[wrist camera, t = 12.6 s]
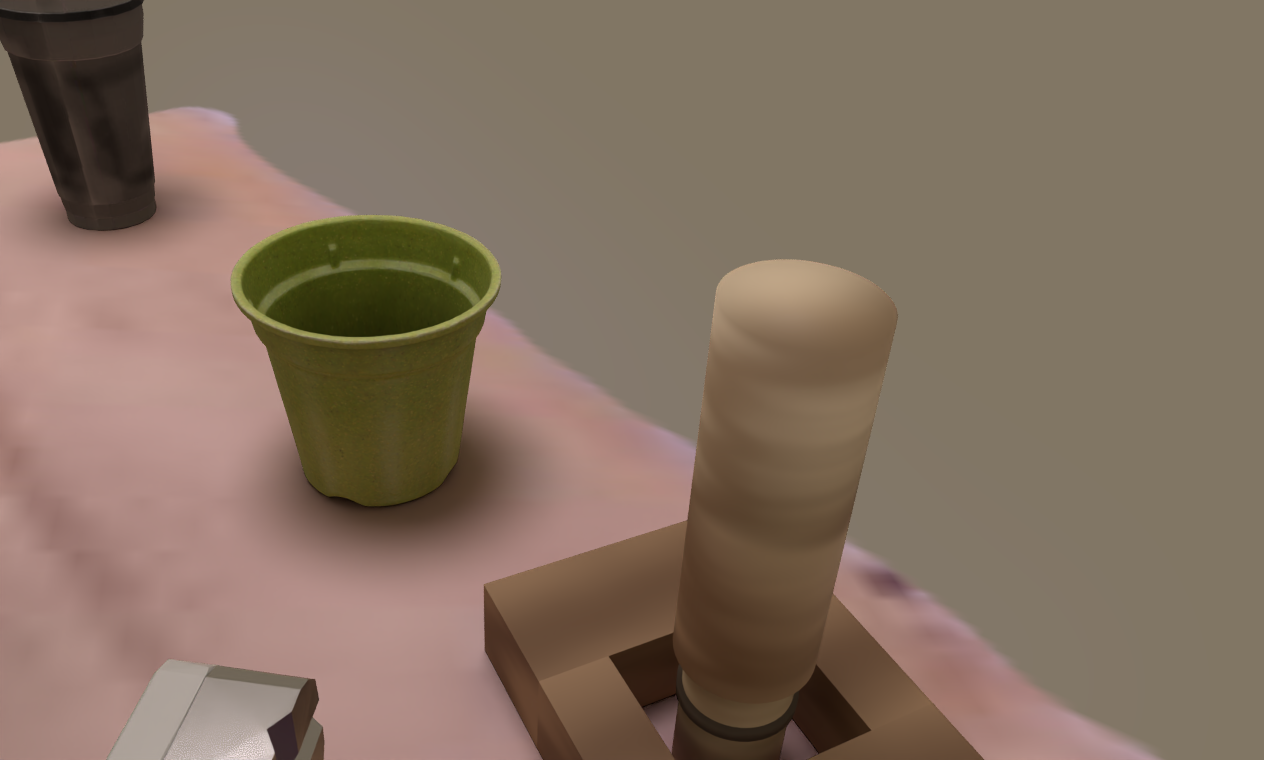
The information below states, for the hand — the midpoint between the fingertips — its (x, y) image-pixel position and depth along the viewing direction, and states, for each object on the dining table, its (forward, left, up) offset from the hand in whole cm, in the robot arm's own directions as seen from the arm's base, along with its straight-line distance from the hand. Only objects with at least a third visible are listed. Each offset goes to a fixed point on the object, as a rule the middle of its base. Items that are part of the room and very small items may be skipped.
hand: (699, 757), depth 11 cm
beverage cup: (-55, -3, -18) cm, 58 cm away
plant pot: (-28, +4, -18) cm, 34 cm away
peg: (-10, +9, -18) cm, 23 cm away
